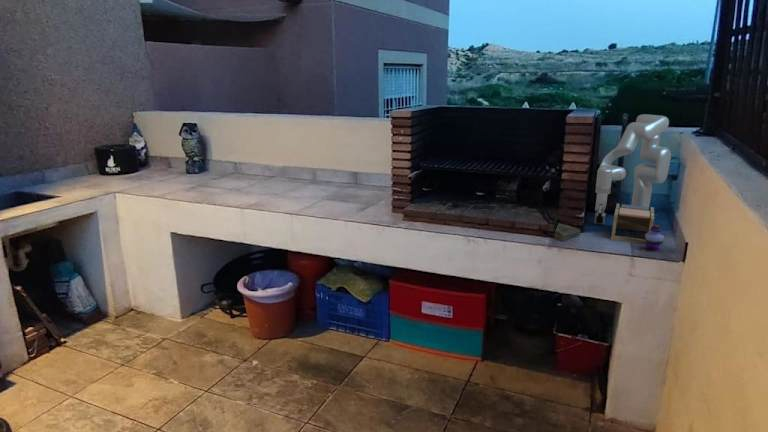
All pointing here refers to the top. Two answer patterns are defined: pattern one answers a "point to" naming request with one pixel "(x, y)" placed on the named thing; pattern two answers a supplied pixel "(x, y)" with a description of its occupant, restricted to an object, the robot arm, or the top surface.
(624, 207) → the trapdoor
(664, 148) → the robot arm
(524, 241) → the top surface
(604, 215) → the cube
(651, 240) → the potion bottle
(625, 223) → the frame
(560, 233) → the marble piece
